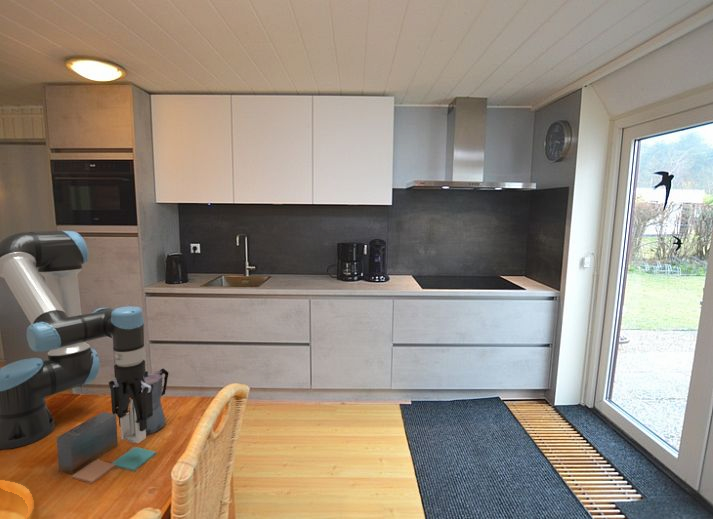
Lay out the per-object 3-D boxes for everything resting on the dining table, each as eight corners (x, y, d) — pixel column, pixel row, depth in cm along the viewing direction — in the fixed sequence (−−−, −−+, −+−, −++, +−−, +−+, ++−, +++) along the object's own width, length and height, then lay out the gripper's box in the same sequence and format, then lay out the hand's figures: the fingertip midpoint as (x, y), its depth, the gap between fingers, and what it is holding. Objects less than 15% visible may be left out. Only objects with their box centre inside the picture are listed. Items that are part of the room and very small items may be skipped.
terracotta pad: (72, 478, 100) (71, 476, 100) (96, 461, 107) (96, 459, 106) (92, 483, 98) (92, 481, 98) (115, 466, 105) (115, 464, 105)
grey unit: (57, 470, 102) (55, 437, 101) (104, 441, 116) (102, 411, 115) (72, 474, 101) (70, 440, 100) (117, 444, 114) (116, 414, 113)
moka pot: (120, 437, 118) (117, 377, 116) (156, 412, 133) (154, 359, 131) (144, 442, 116) (142, 382, 113) (179, 416, 131) (177, 362, 128)
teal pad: (111, 465, 105) (111, 463, 105) (134, 448, 113) (134, 446, 113) (133, 471, 103) (133, 469, 103) (156, 453, 111) (156, 451, 111)
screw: (147, 438, 108) (130, 447, 104) (136, 434, 110) (120, 442, 106) (145, 397, 107) (128, 404, 102) (134, 392, 109) (117, 400, 104)
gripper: (92, 362, 103) (97, 440, 106) (144, 371, 98) (148, 452, 101) (116, 353, 110) (120, 426, 113) (165, 360, 106) (168, 436, 108)
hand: (133, 438), depth 107 cm, fingers closed on screw, 5 cm apart
